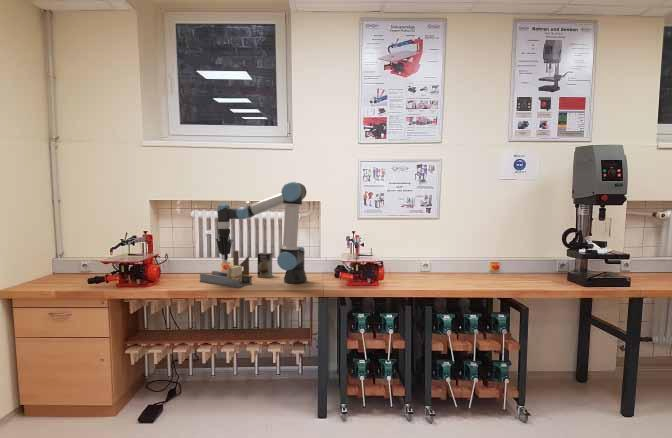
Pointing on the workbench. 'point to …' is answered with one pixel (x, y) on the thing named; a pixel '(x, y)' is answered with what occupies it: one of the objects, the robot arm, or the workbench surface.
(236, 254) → the dark angular piece
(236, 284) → the steel chute
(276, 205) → the robot arm
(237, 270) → the maple block
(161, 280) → the workbench surface
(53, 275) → the workbench surface
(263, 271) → the coffee box
